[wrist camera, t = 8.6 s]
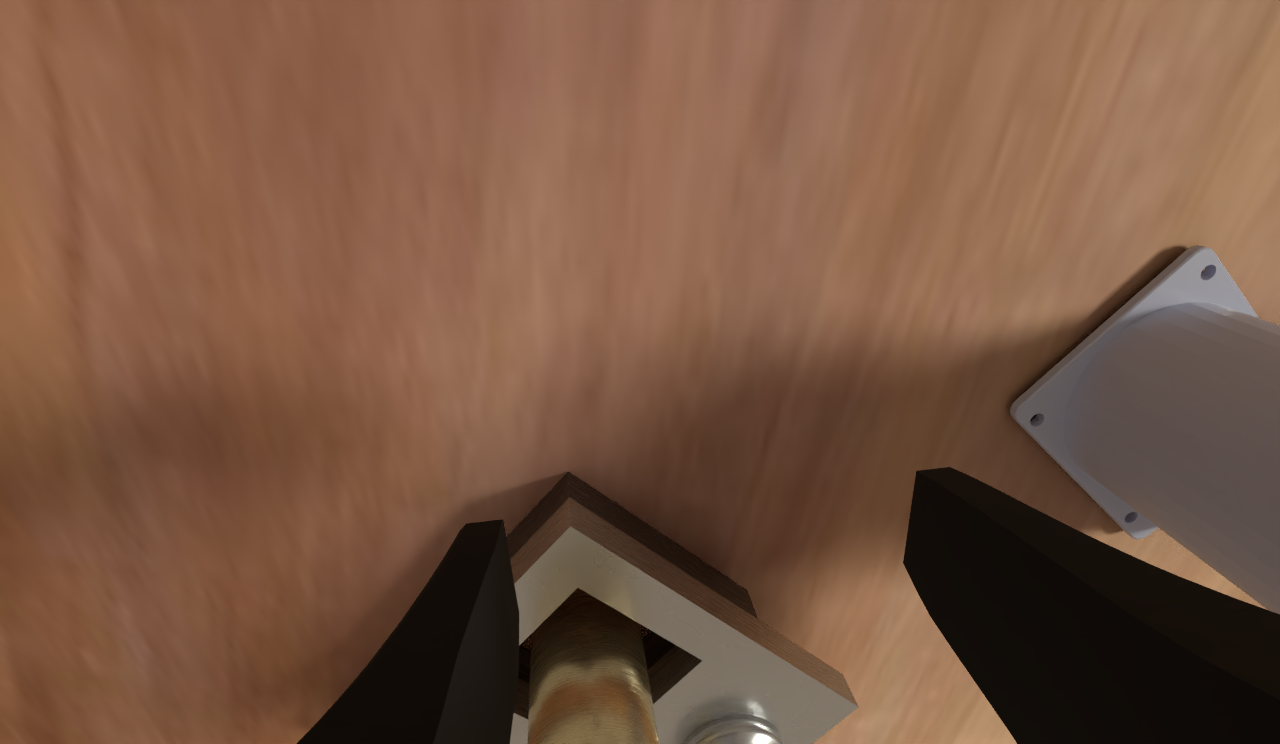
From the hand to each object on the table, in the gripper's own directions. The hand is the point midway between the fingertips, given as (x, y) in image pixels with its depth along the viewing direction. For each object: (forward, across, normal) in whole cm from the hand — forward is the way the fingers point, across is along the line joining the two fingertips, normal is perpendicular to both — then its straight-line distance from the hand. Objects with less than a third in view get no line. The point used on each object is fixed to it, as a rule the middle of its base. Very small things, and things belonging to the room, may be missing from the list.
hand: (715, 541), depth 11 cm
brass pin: (+10, +3, +11) cm, 16 cm away
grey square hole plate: (+10, +1, +13) cm, 17 cm away
